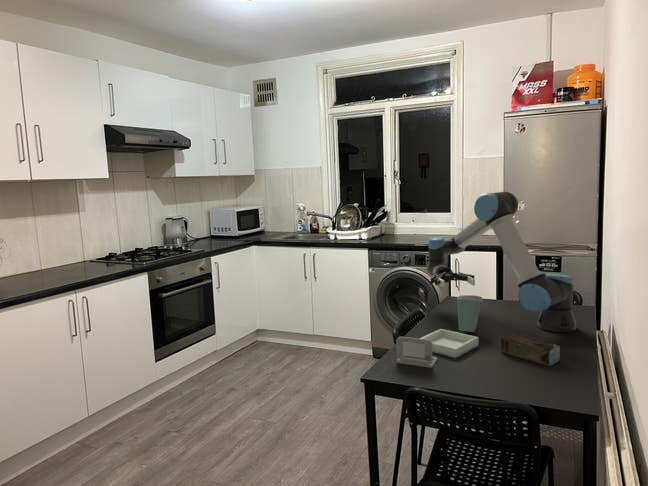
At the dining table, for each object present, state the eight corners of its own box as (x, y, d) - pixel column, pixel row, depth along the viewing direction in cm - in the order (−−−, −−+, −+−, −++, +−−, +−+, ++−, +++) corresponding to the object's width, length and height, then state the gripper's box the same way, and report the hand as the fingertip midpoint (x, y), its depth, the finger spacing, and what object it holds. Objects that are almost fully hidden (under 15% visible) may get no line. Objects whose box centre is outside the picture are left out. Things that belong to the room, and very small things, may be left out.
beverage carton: (549, 367, 172) (549, 349, 171) (499, 353, 186) (499, 336, 186) (560, 361, 177) (560, 343, 176) (511, 347, 191) (511, 331, 190)
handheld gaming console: (438, 359, 183) (437, 333, 181) (431, 368, 174) (431, 341, 173) (403, 354, 188) (403, 329, 187) (396, 363, 180) (395, 337, 179)
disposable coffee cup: (449, 329, 209) (451, 293, 211) (463, 330, 216) (466, 296, 218) (470, 331, 201) (473, 294, 203) (485, 333, 208) (488, 297, 210)
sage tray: (478, 345, 194) (478, 337, 194) (455, 358, 182) (455, 349, 182) (440, 336, 206) (440, 328, 206) (417, 348, 194) (417, 339, 194)
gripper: (468, 279, 238) (486, 290, 217) (417, 282, 236) (430, 293, 215) (468, 264, 237) (486, 273, 216) (417, 267, 235) (430, 276, 214)
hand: (458, 283), depth 215 cm, fingers open, 13 cm apart
